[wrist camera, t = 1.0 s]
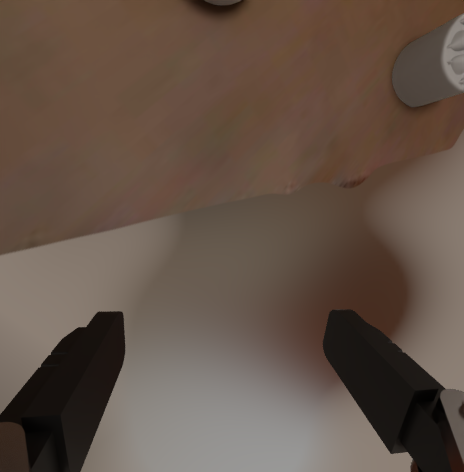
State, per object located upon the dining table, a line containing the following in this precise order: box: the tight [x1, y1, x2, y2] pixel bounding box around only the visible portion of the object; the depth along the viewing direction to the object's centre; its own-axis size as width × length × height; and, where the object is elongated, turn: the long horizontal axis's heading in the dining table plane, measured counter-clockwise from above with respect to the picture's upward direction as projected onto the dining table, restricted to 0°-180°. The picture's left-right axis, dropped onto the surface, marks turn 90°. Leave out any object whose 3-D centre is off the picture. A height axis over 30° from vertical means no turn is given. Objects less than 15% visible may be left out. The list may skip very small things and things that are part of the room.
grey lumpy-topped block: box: [392, 13, 464, 107], centre depth 37 cm, size 10×13×9 cm
